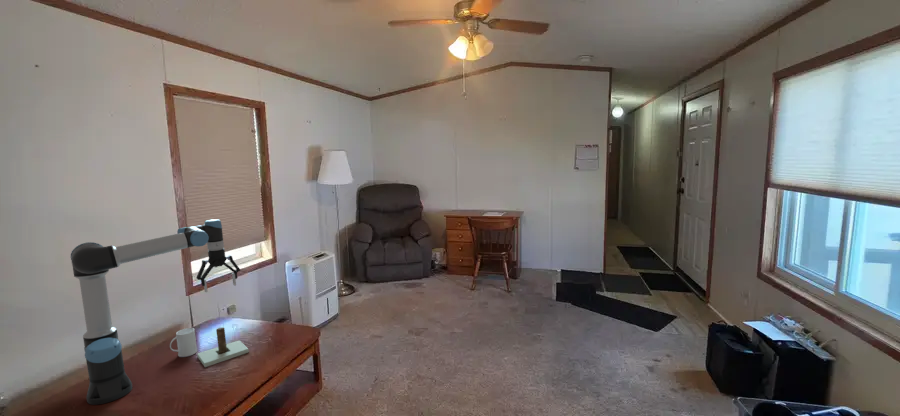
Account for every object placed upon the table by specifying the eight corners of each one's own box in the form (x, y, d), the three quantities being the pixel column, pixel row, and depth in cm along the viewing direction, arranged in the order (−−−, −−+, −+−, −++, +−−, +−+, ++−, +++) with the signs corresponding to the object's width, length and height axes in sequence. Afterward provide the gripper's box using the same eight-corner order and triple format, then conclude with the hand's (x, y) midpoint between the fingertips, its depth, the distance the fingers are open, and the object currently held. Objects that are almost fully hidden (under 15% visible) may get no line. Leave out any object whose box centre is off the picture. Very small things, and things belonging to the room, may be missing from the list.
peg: (220, 357, 205) (217, 331, 203) (218, 355, 208) (215, 329, 206) (228, 354, 208) (225, 328, 206) (226, 352, 210) (223, 326, 209)
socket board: (204, 367, 196) (204, 363, 196) (197, 357, 206) (197, 353, 206) (248, 352, 210) (248, 348, 210) (239, 343, 220) (239, 340, 220)
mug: (173, 361, 203) (170, 338, 201) (168, 356, 208) (165, 334, 206) (200, 352, 212) (197, 330, 210) (194, 347, 217) (191, 326, 215)
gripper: (189, 255, 200) (195, 296, 203) (243, 245, 217) (248, 283, 220) (186, 252, 206) (191, 292, 209) (239, 243, 223) (243, 280, 226)
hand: (220, 288), depth 215 cm, fingers open, 13 cm apart
